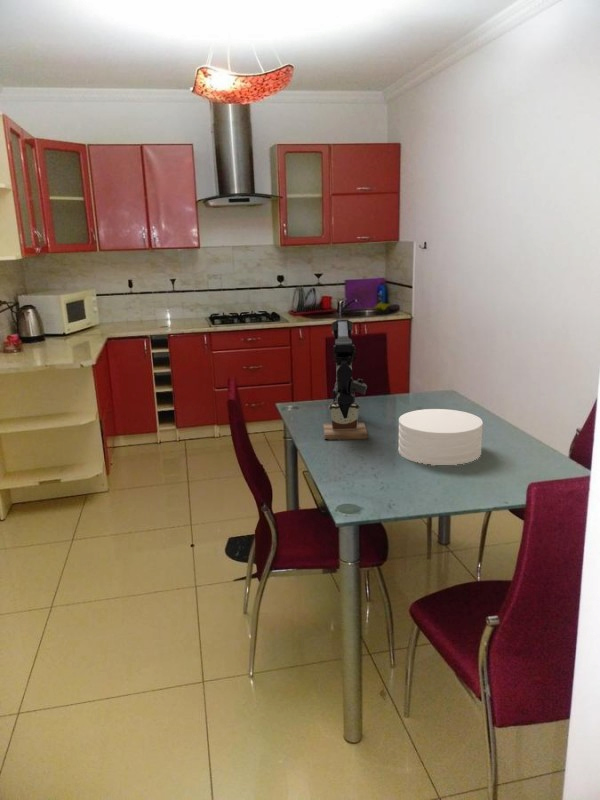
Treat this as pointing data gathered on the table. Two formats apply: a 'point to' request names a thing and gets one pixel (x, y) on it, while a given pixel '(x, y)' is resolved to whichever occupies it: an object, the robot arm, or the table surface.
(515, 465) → the table surface
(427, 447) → the plate stack
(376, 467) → the table surface
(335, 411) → the food container
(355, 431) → the walnut block
